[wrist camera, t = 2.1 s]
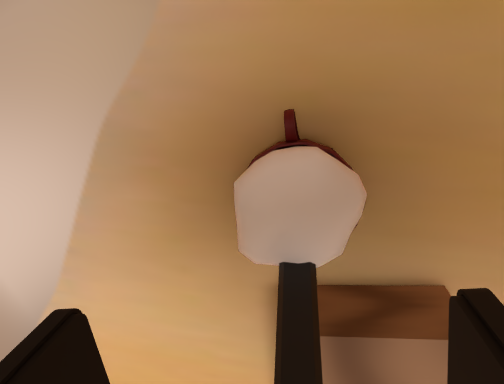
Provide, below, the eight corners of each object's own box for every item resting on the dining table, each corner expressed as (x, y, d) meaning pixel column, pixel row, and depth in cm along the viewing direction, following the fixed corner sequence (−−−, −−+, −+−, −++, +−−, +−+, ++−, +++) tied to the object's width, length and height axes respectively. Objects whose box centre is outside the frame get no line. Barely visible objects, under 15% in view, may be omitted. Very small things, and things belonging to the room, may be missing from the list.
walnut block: (442, 283, 22) (479, 340, 17) (433, 404, 25) (461, 481, 20) (282, 282, 24) (276, 335, 19) (292, 396, 27) (288, 464, 22)
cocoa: (271, 99, 20) (210, 109, 9) (379, 131, 19) (465, 188, 8) (230, 243, 23) (143, 392, 12) (322, 275, 22) (326, 464, 11)
